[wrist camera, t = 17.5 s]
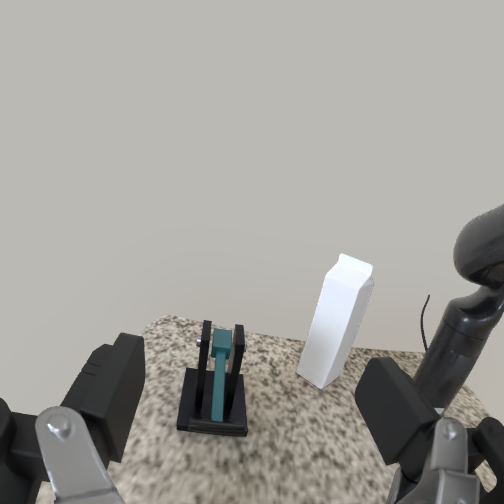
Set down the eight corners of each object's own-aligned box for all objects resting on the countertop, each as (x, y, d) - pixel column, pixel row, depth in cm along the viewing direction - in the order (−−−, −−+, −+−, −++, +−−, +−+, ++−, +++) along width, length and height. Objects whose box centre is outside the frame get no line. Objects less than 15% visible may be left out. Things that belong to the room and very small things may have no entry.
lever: (242, 438, 24) (246, 431, 23) (188, 433, 23) (188, 426, 22) (242, 343, 35) (245, 331, 33) (199, 337, 34) (200, 326, 33)
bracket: (246, 437, 30) (266, 367, 27) (176, 429, 29) (178, 356, 26) (241, 379, 42) (256, 312, 38) (186, 373, 41) (191, 303, 37)
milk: (321, 390, 42) (365, 268, 36) (294, 372, 46) (330, 254, 40) (339, 376, 46) (381, 263, 40) (314, 360, 50) (348, 251, 44)
